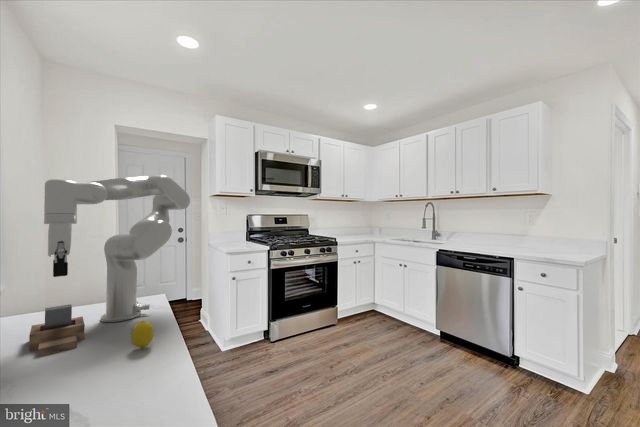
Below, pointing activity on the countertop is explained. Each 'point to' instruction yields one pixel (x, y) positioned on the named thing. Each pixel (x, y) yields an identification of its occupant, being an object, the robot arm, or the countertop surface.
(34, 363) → the countertop surface
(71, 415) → the countertop surface
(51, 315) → the bracket
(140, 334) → the lemon
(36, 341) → the socket
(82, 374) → the countertop surface
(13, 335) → the countertop surface
